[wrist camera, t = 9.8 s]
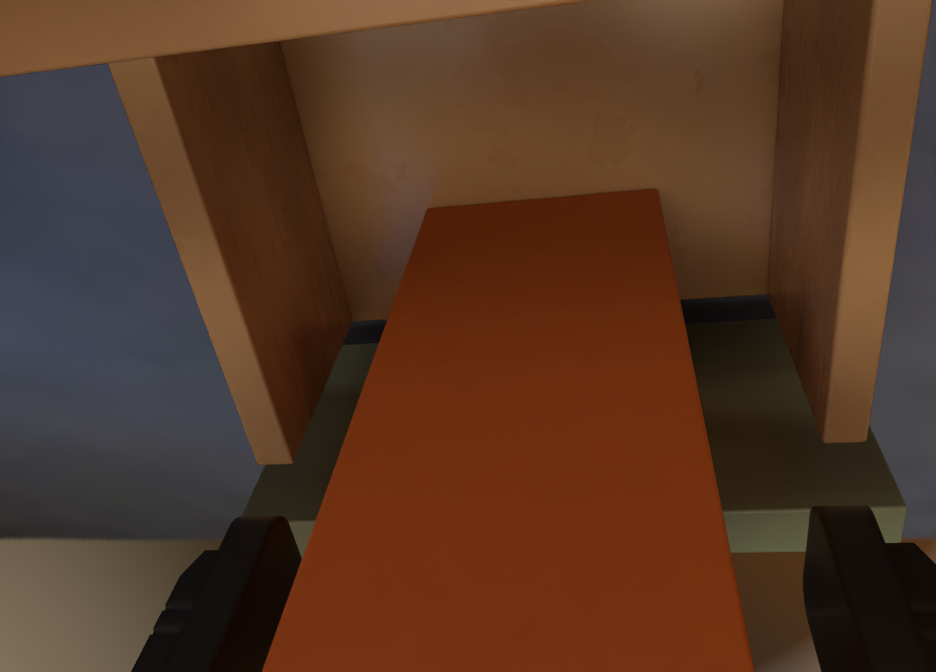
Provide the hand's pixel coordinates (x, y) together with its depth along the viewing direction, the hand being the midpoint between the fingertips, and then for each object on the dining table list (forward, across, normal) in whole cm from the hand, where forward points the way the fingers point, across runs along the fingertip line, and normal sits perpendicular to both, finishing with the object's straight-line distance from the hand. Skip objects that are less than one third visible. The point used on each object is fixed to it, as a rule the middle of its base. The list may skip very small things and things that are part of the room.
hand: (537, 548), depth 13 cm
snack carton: (+9, 0, 0) cm, 9 cm away
